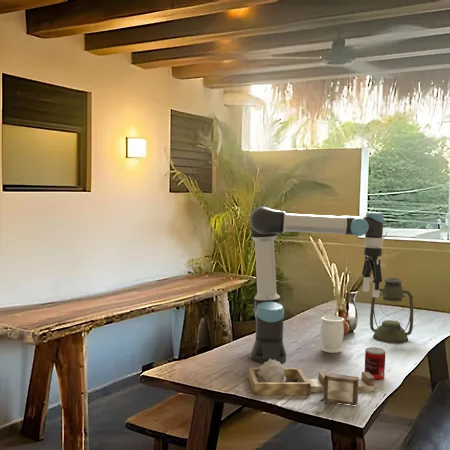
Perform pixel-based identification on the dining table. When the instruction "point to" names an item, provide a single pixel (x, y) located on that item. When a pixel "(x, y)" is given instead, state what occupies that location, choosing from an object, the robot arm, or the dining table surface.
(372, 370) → the canned food
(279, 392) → the shell cradle
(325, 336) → the jar
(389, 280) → the lantern
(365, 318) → the dining table surface
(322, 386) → the ledge
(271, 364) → the seashell
